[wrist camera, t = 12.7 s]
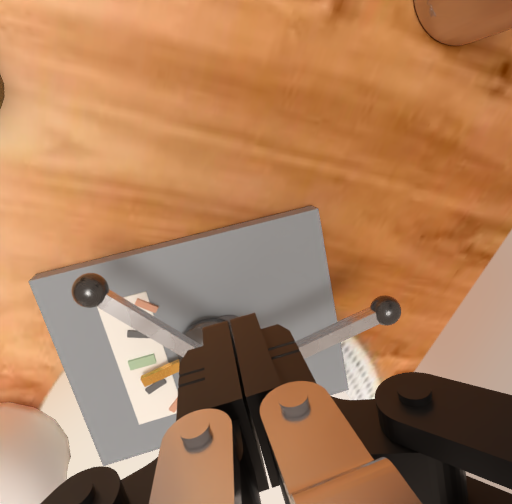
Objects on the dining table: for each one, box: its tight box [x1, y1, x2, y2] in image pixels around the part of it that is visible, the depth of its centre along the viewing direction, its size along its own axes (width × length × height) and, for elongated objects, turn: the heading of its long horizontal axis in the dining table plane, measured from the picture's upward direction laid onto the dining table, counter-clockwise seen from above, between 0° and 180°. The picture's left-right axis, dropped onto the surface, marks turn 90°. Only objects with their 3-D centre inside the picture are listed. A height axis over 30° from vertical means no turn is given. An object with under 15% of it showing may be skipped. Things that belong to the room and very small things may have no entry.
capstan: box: [71, 273, 401, 387], centre depth 34 cm, size 23×25×8 cm
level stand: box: [29, 206, 349, 466], centre depth 39 cm, size 26×20×2 cm
